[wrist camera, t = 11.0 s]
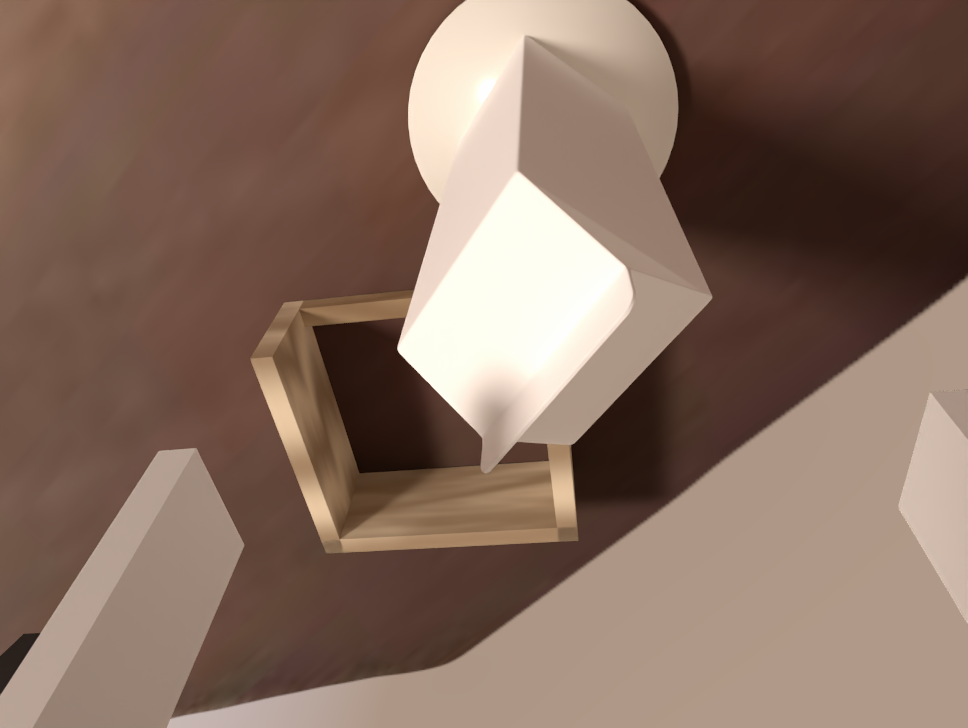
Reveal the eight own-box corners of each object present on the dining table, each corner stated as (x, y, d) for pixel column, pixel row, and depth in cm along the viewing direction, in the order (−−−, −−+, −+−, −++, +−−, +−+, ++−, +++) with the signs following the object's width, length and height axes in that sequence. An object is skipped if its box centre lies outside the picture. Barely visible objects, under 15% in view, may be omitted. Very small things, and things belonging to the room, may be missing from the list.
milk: (628, 106, 33) (757, 370, 15) (554, 208, 36) (584, 531, 18) (521, 31, 31) (517, 221, 13) (453, 144, 34) (372, 427, 16)
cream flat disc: (385, -5, 31) (381, -3, 31) (677, -51, 30) (680, -49, 29) (435, 255, 39) (434, 261, 38) (674, 230, 37) (676, 236, 36)
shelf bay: (284, 302, 41) (250, 358, 36) (555, 275, 39) (558, 331, 34) (347, 486, 49) (326, 553, 44) (573, 472, 47) (578, 540, 42)
